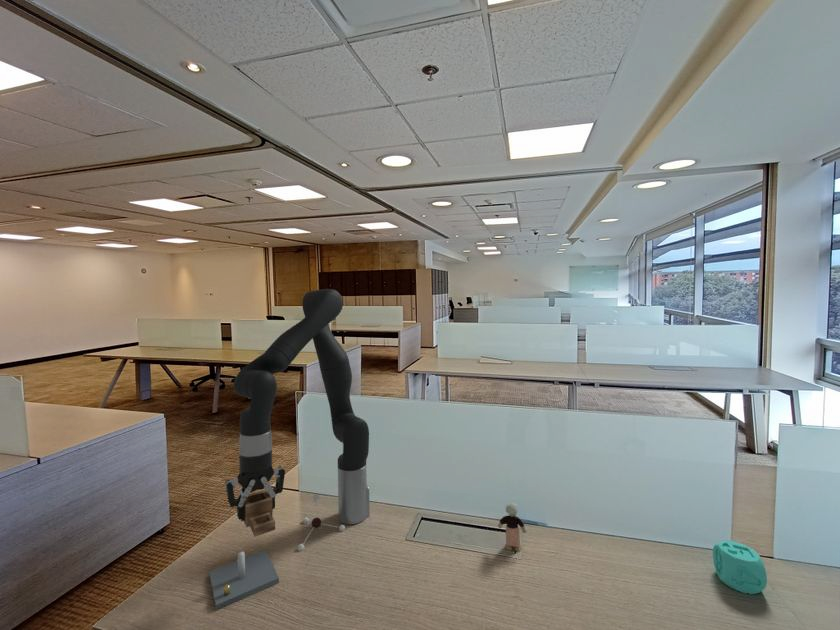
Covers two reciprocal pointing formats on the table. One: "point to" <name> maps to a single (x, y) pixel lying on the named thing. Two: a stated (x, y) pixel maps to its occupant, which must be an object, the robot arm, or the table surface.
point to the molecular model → (316, 523)
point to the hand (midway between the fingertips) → (256, 514)
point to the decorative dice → (739, 567)
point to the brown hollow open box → (259, 513)
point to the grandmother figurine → (512, 527)
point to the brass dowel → (226, 589)
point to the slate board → (242, 578)
